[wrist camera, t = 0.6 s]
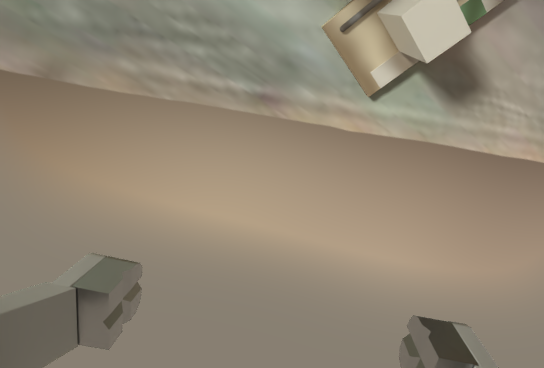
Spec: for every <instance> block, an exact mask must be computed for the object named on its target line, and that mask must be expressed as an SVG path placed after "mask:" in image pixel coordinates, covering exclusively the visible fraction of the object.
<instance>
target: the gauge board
mask: <svg viewBox="0 0 544 368" xmlns="http://www.w3.org/2000/svg"><path fill="white" fill-rule="evenodd" d="M391 1H392V0H352V1H351V2H350V3H349V4H347V5H346V6H345V7H344V8H343V9H342V10H340V11H339V12H338V13H337V14H336V15H334V16H333V17H332V18H331V19H330V20H328V21H327V22H326V23H325V24H324V25H323V26H321V27H322V28H323V30H324V31H325V33H326V35H327V36H328V38H329V39H330V41H331V42H332V44H333V45H334V47H335V48H336V50H337V51H338V53H339V54H340V56H341V57H342V59H343V60H344V62H345V63H346V65H347V66H348V68H349V69H350V71H351V72H352V74H353V75H354V77H355V78H356V80H357V81H358V83H359V84H360V86H361V87H362V89H363V90H364V92H365V93H366V95H367V96H368V97H369V96H371V95H372V94H374V93H375V92H376V91H378V90H379V89H381V88H382V87H383V86H385V85H386V84H388V83H389V82H390V81H392V80H393V79H395V78H396V77H397V76H399V75H400V74H402V73H403V72H404V71H406V70H407V69H409V68H410V67H411V66H413V65H414V64H416V63H417V62H419V61H420V60H418V59H416V58H413V57H411V56H409V55H407V54H404V53H402V52H400V51H399V50H398V48H397V47H396V45H395V43H394V42H393V40H392V38H391V36H390V35H389V33H388V31H387V29H386V28H385V26H384V24H383V22H382V21H381V19H380V17H379V16H378V14H377V12H378V11H380V10H381V9H382V8H383V7H385V6H386V5H387V4H388V3H390V2H391ZM503 1H504V0H459V1H457V2H458V4H459V6H460V9H461V11H462V13H463V15H464V17H465V19H466V21H467V24H468V26H469V25H471V24H472V23H473V22H475V21H476V20H478V19H479V18H480V17H482V16H483V15H485V14H486V13H487V12H489V11H490V10H492V9H493V8H494V7H496V6H497V5H499V4H500V3H501V2H503Z"/></svg>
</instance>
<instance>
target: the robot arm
mask: <svg viewBox="0 0 544 368" xmlns="http://www.w3.org/2000/svg"><path fill="white" fill-rule="evenodd" d="M141 276H142V265H141V264H140V263H138V262H133V261H129V260H124V259H119V258H115V257H110V256H105V255H100V254H94V253H91V254H88V255H86V256H85V257H84V258H83V259H81V260H80V261H79V262H77V263H76V264H75V265H74V266H72V268H70V269H69V270H67V271H66V272H65V273H64V274H62V275H61V276H60V277H59V278H57V279H56V280H55V281H54V282H53V283H47V282H45V283H42V284H39V285H35V286H32V287H29V288H26V289H23V290H19V291H16V292H13V293H10V294H6V295H3V296H0V368H43V367H44V366H46V365H48V364H49V363H51V362H53V361H54V360H56V359H58V358H59V357H61V356H63V355H64V354H66V353H68V352H69V351H71V350H73V349H74V348H76V347H77V346H78V345H83V346H88V347H95V348H100V349H106V350H109V349H110V348H111V346H112V345H113V344H114V342H115V341H116V339H117V338H118V337H119V335H120V334H121V333H122V324H124V323H126V322H128V321H130V320H131V319H132V317H133V316H134V314H135V313H136V310H137V308H138V306H139V303H140V299H141V290H142V288H141V287H140V285H139V284H138V282H137V281H138V280H139V279H140V278H141ZM407 327H408V329H409V332H410V334H409V335H407V336H406V337H404V338H403V340H402V343H401V346H400V353H399V360H400V366H401V368H499V367H498V366H497V364H496V363H495V361H494V360H493V359H492V357H491V356H490V354H489V353H488V351H487V350H486V349H485V347H484V346H483V345H482V343H481V341H480V340H479V339H478V337H477V336H476V334H475V333H474V332H473V330H472V329H471V327H469V326H468V325H466V324H463V323H456V322H450V321H448V322H447V321H441V320H435V319H430V318H425V317H419V316H412V317H411V319H410V320H409V323H408V325H407Z"/></svg>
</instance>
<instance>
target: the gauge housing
mask: <svg viewBox="0 0 544 368" xmlns="http://www.w3.org/2000/svg"><path fill="white" fill-rule="evenodd" d="M457 1H459V0H392V1H391V2H390V3H388V4H387V5H386V6H385V7H383V8H382V9H381V10H380V11H378V12H377V14H378V16H379V17H380V19H381V21H382V22H383V24H384V26H385V28H386V29H387V31H388V33H389V35H390V36H391V38H392V40H393V42H394V43H395V45H396V47H397V48H398V50H399V51H400V52H402V53H404V54H407V55H409V56H411V57H413V58H416V59H418V60H420V61H422V62H425V63H429V62H430V61H432V60H433V59H434V58H436V57H437V56H439V55H440V54H442V53H443V52H444V51H446V50H447V49H449V48H450V47H451V46H453V45H454V44H456V43H457V42H459V41H460V40H461V39H463V38H464V37H466V36H467V35H469V34H470V33H471V30H470V28H469V26H468V24H467V21H466V19H465V17H464V15H463V13H462V11H461V9H460V6H459V4H458V2H457Z"/></svg>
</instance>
